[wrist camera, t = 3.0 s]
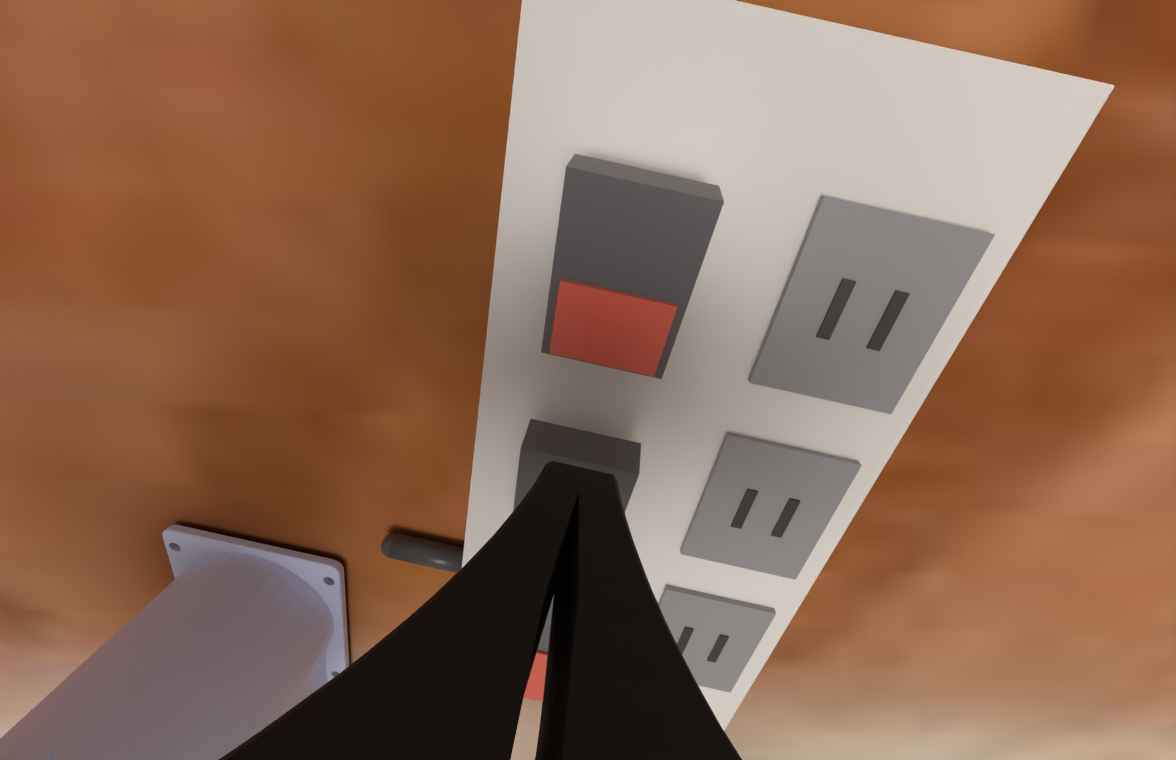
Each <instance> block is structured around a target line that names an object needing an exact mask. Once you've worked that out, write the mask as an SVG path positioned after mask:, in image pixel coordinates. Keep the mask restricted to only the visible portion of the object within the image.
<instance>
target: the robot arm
mask: <svg viewBox="0 0 1176 760" xmlns="http://www.w3.org/2000/svg"><path fill="white" fill-rule="evenodd" d="M162 536H163V540H164V543H165V547H166V550H167V554H168V557H169V560H170V564H171V567H172V571H173V574H174V577H175V580H174V581H172V582H171V583H170V584H169V585H168V586H167V587H166V588H165V589H164V590H163V591H161V592H160V593H159V594H158V595H157V596H156V597H155V598H154V599H153V600H152V601H151V602H149V603H148V604H147V605H146V606H145V607H144V608H143V609H142V610H141V611H140V612H138V613H137V614H136V615H135V616H134V617H133V618H132V619H131V620H130V621H129V622H128V623H126V624H125V625H124V626H123V627H122V628H121V629H120V630H119V631H118V632H117V633H115V634H114V635H113V636H112V637H111V638H110V639H109V640H108V641H107V642H106V643H105V644H103V645H102V646H101V647H100V648H99V649H98V650H97V651H96V652H95V653H94V654H92V655H91V656H90V657H89V658H88V659H87V660H86V661H85V662H84V663H83V664H82V665H80V666H79V667H78V668H77V669H76V670H75V671H74V672H73V673H72V674H71V675H69V676H68V677H67V678H66V679H65V680H64V681H63V682H62V683H61V684H60V685H59V686H57V687H56V688H55V689H54V690H53V691H52V692H51V693H50V694H49V695H48V696H46V697H45V698H44V699H43V700H42V701H41V702H40V703H39V704H38V705H37V706H36V707H34V708H33V709H32V710H31V711H30V712H29V713H28V714H27V715H26V716H25V717H23V718H22V719H21V720H20V721H19V722H18V723H17V724H16V725H15V726H14V727H12V728H11V729H10V730H9V731H8V732H7V733H6V734H5V735H4V736H3V737H2V738H0V760H510V758H511V753H512V749H513V744H514V739H515V734H516V729H517V725H518V720H519V715H520V710H521V705H522V701H523V697H524V694H525V690H526V687H527V683H528V680H529V677H530V673H531V670H532V666H533V663H534V660H535V656H536V653H537V650H538V646H539V643H540V639H541V636H542V633H543V629H544V626H545V623H546V619H547V616H548V612H549V609H550V606H551V602H552V599H553V595H554V599H553V608H552V617H551V627H550V636H549V646H548V655H547V665H546V675H545V684H544V694H543V704H542V713H541V722H540V730H539V737H538V744H537V751H536V757H535V760H742V759H741V758H740V756H739V754H738V753H737V751H736V750H735V748H734V746H733V745H732V743H731V742H730V740H729V738H728V737H727V735H726V734H725V732H724V730H723V729H722V727H721V725H720V724H719V722H718V720H717V718H716V716H715V715H714V713H713V711H712V709H711V708H710V706H709V704H708V702H707V700H706V699H705V697H704V695H703V693H702V691H701V690H700V688H699V686H698V684H697V683H696V681H695V679H694V677H693V675H692V673H691V671H690V669H689V667H688V665H687V663H686V661H685V659H684V658H683V656H682V654H681V652H680V650H679V648H678V646H677V644H676V642H675V640H674V638H673V635H672V633H671V631H670V629H669V627H668V625H667V623H666V621H665V618H664V616H663V614H662V612H661V609H660V607H659V605H658V602H657V600H656V598H655V596H654V593H653V591H652V589H651V586H650V584H649V581H648V579H647V576H646V574H645V571H644V568H643V566H642V563H641V560H640V558H639V555H638V552H637V549H636V547H635V544H634V541H633V538H632V535H631V532H630V529H629V526H628V522H627V519H626V516H625V513H624V509H623V505H622V501H621V497H620V493H619V488H618V482H617V480H616V478H615V477H614V475H613V474H608V473H604V472H599V471H595V470H591V469H586V468H582V467H577V466H573V465H568V464H564V463H559V462H555V461H551V462H549V463H547V464H545V466H544V468H543V470H542V472H541V473H540V475H539V477H538V478H537V480H536V482H535V483H534V485H533V486H532V487H531V489H530V490H529V492H528V493H527V494H526V496H525V497H524V498H523V500H522V501H521V502H520V504H519V505H518V506H517V508H516V509H515V510H514V511H513V512H512V514H511V515H510V516H509V517H508V518H507V520H506V521H505V522H504V523H503V524H502V526H501V527H500V528H499V529H498V530H497V532H496V533H495V534H494V535H493V536H492V537H491V538H490V539H489V540H488V541H487V542H486V544H485V545H484V546H483V547H482V548H481V549H480V550H479V551H478V552H477V553H476V554H475V555H474V556H473V557H472V558H471V559H470V560H469V561H468V562H467V564H466V565H465V566H464V567H463V568H462V569H461V570H460V571H459V572H458V573H457V574H456V575H455V576H454V577H453V578H451V579H450V580H449V581H448V582H447V583H446V584H445V585H444V586H443V587H442V588H441V589H440V590H439V591H438V592H437V593H436V594H435V595H433V596H432V597H431V598H430V599H429V600H428V601H427V602H426V603H425V604H423V605H422V606H421V607H420V608H419V609H418V610H417V611H416V612H415V613H413V614H412V615H411V616H410V617H409V618H408V619H406V620H405V621H404V622H403V623H402V624H400V625H399V626H398V627H397V628H396V629H394V630H393V631H392V632H391V633H390V634H388V635H387V636H386V637H385V638H383V639H382V640H381V641H380V642H379V643H377V644H376V645H375V646H374V647H373V648H371V649H370V650H369V651H368V652H366V653H365V654H364V655H363V656H361V657H360V658H359V659H358V660H356V661H355V662H354V663H353V664H351V665H350V666H349V650H348V633H347V615H346V597H345V579H344V568H343V566H342V564H341V563H340V562H338V561H337V560H334V559H330V558H325V557H321V556H316V555H312V554H307V553H303V552H298V551H294V550H289V549H285V548H280V547H276V546H271V545H267V544H262V543H258V542H253V541H249V540H244V539H240V538H235V537H231V536H226V535H222V534H217V533H213V532H208V531H204V530H199V529H195V528H190V527H186V526H181V525H171V526H169V527H168V528H167V529H165V530H164V531H163V533H162Z"/></svg>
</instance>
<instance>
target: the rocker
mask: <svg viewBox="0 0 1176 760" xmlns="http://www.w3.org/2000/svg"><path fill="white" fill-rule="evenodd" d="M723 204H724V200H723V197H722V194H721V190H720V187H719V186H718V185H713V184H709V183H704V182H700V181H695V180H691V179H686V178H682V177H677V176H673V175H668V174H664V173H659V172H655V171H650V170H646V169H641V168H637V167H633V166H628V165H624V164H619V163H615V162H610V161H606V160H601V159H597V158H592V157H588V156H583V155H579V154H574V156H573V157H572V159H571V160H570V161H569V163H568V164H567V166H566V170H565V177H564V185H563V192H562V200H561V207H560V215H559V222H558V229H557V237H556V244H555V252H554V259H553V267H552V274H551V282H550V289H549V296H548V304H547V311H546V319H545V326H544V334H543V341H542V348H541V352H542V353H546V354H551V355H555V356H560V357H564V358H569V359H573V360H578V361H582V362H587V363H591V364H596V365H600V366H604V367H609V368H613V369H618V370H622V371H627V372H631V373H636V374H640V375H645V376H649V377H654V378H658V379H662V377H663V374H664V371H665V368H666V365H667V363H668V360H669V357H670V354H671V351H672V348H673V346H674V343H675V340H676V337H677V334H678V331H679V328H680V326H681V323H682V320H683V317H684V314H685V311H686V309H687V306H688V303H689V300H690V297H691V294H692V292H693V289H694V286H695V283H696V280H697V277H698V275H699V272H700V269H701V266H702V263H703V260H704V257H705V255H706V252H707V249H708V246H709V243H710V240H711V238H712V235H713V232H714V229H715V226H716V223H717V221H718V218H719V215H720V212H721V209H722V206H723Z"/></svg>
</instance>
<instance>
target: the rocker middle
mask: <svg viewBox="0 0 1176 760" xmlns="http://www.w3.org/2000/svg"><path fill="white" fill-rule="evenodd" d="M640 454H641V443H638V442H634V441H629V440H625V439H620V438H616V437H611V436H607V435H602V434H598V433H593V432H589V431H584V430H580V429H575V428H571V427H566V426H562V425H557V424H553V423H548V422H544V421H539V420H535V419H530V422H529V425H528V428H527V431H526V434H525V437H524V439H523V442H522V445H521V449H520V457H519V466H518V474H517V482H516V491H515V499H514V507H513V511H514V510H515V509H516V508H517V506H518V505H519V504H520V502H521V501H522V500H523V498H524V497H525V496H526V494H527V493H528V492H529V490H530V489H531V487H532V486H533V485H534V483H535V482H536V480H537V478H538V477H539V475H540V473H541V472H542V470H543V468H544V466H545V464H547V463H549V462H551V461H555V462H559V463H564V464H568V465H573V466H577V467H582V468H586V469H591V470H595V471H599V472H604V473H608V474H613V475H614V477H615V478H616V480H617V482H618V488H619V493H620V497H621V501H622V505H623V509H624V513H625V511H626V508H627V505H628V503H629V500H630V497H631V495H632V492H633V489H634V487H635V484H636V481H637V479H638V476H639V470H640Z"/></svg>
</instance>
